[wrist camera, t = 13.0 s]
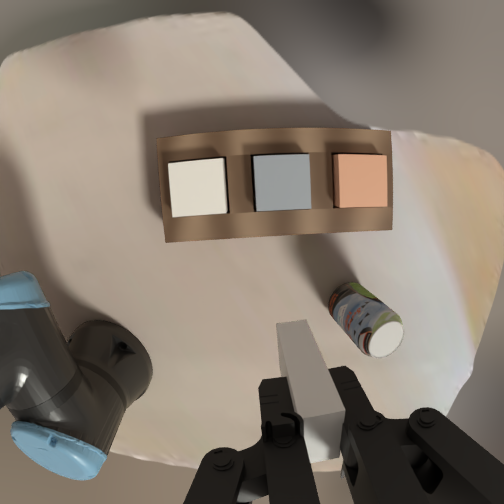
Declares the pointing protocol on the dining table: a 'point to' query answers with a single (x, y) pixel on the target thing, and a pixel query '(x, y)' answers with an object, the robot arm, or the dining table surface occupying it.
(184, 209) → the offwhite key
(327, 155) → the console
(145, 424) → the dining table surface
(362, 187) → the terracotta key
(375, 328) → the beverage can
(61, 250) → the dining table surface
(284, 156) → the slate key
